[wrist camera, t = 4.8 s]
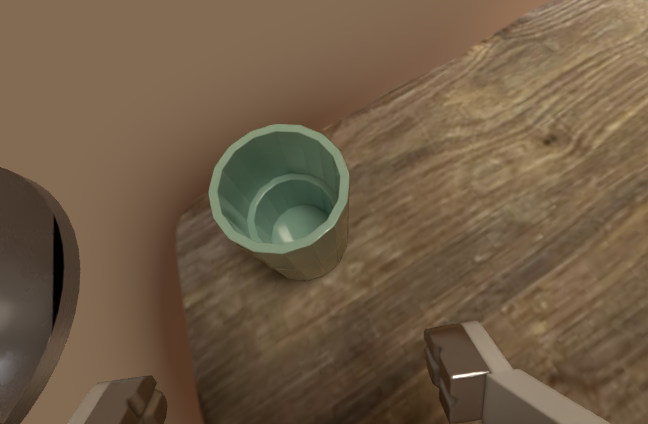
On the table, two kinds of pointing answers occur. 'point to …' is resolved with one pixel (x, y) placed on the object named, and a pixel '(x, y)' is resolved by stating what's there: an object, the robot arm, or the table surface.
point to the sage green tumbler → (284, 199)
